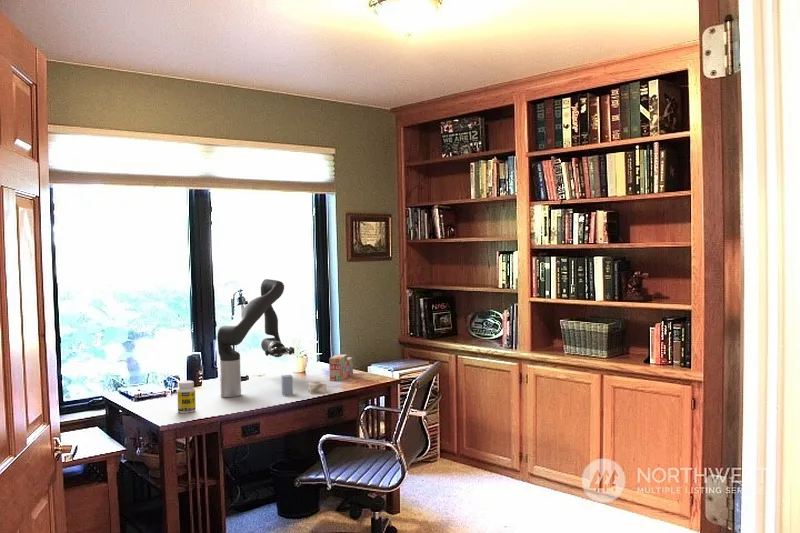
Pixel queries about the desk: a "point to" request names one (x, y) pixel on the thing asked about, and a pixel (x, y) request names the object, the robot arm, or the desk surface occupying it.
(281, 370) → the desk surface
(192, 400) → the supplement bottle
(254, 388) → the desk surface
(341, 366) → the stack of blocks
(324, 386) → the cream base block
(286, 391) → the slate block
